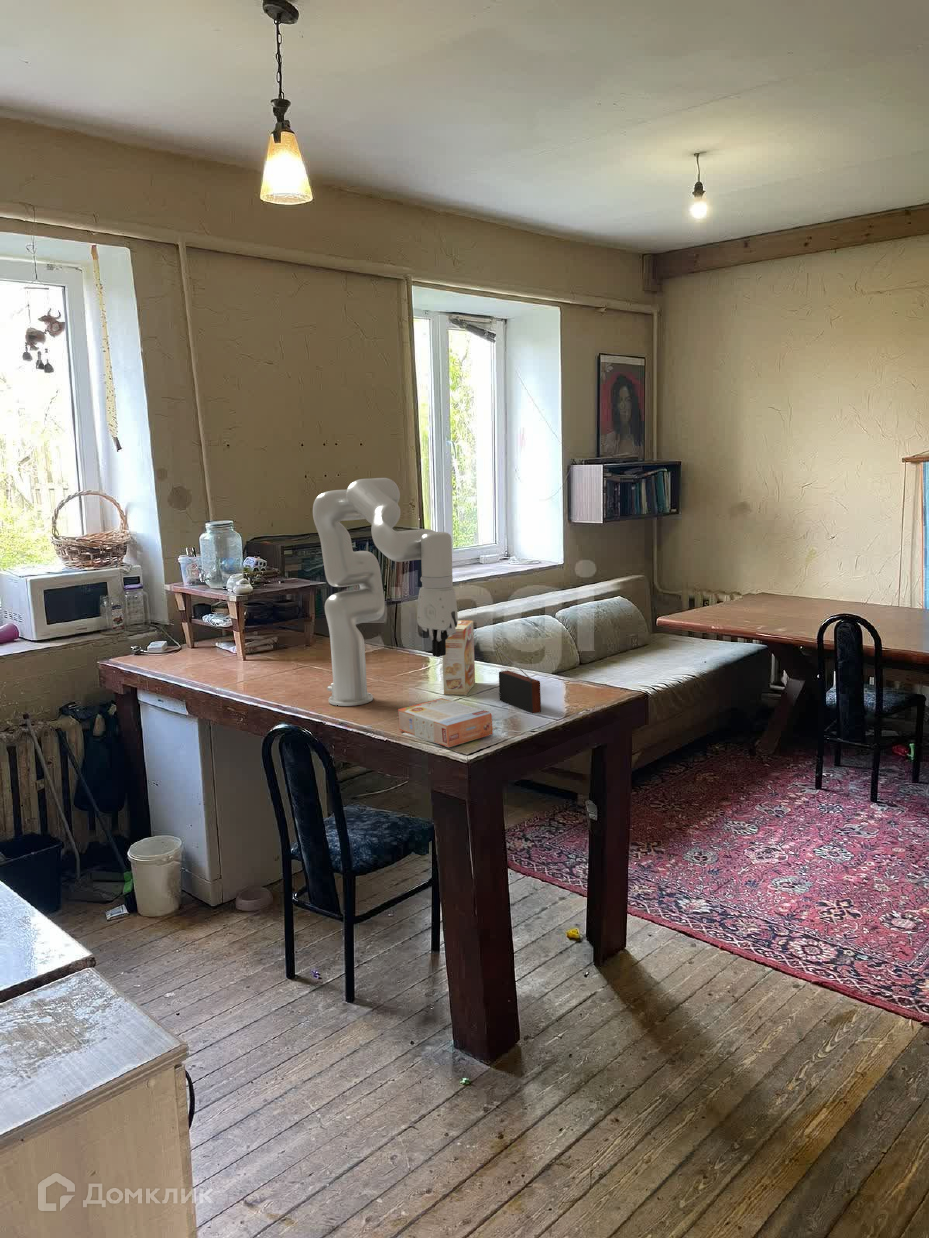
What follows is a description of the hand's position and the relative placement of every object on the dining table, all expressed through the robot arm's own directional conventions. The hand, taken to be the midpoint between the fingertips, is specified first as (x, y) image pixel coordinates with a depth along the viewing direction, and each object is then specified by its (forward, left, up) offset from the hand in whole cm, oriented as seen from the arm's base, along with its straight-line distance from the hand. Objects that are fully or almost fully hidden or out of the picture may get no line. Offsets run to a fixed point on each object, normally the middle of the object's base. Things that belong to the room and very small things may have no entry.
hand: (439, 655), depth 227 cm
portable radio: (+2, +29, -20) cm, 35 cm away
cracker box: (-7, -1, -16) cm, 18 cm away
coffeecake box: (-24, +34, -20) cm, 46 cm away
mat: (+3, 0, -19) cm, 19 cm away
